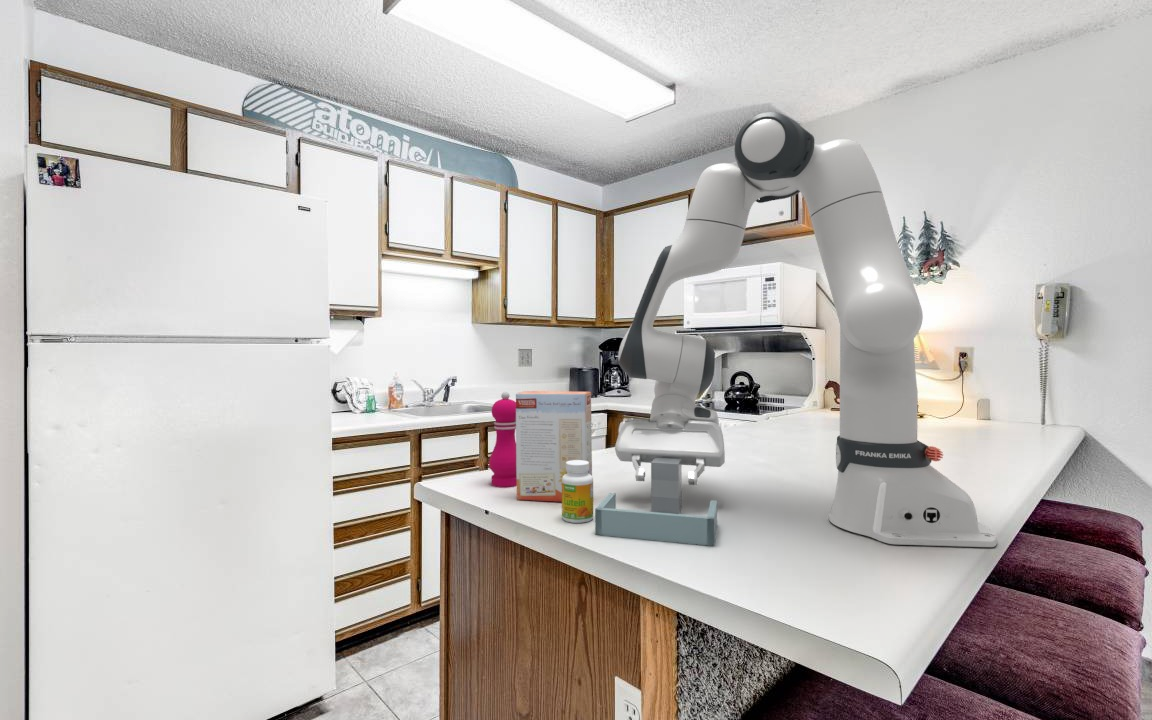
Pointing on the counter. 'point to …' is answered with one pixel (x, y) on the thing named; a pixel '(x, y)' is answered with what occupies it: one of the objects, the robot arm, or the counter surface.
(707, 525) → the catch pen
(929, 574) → the counter surface
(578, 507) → the supplement bottle
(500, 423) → the pepper mill
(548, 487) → the cracker box
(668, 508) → the tile stack
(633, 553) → the counter surface
